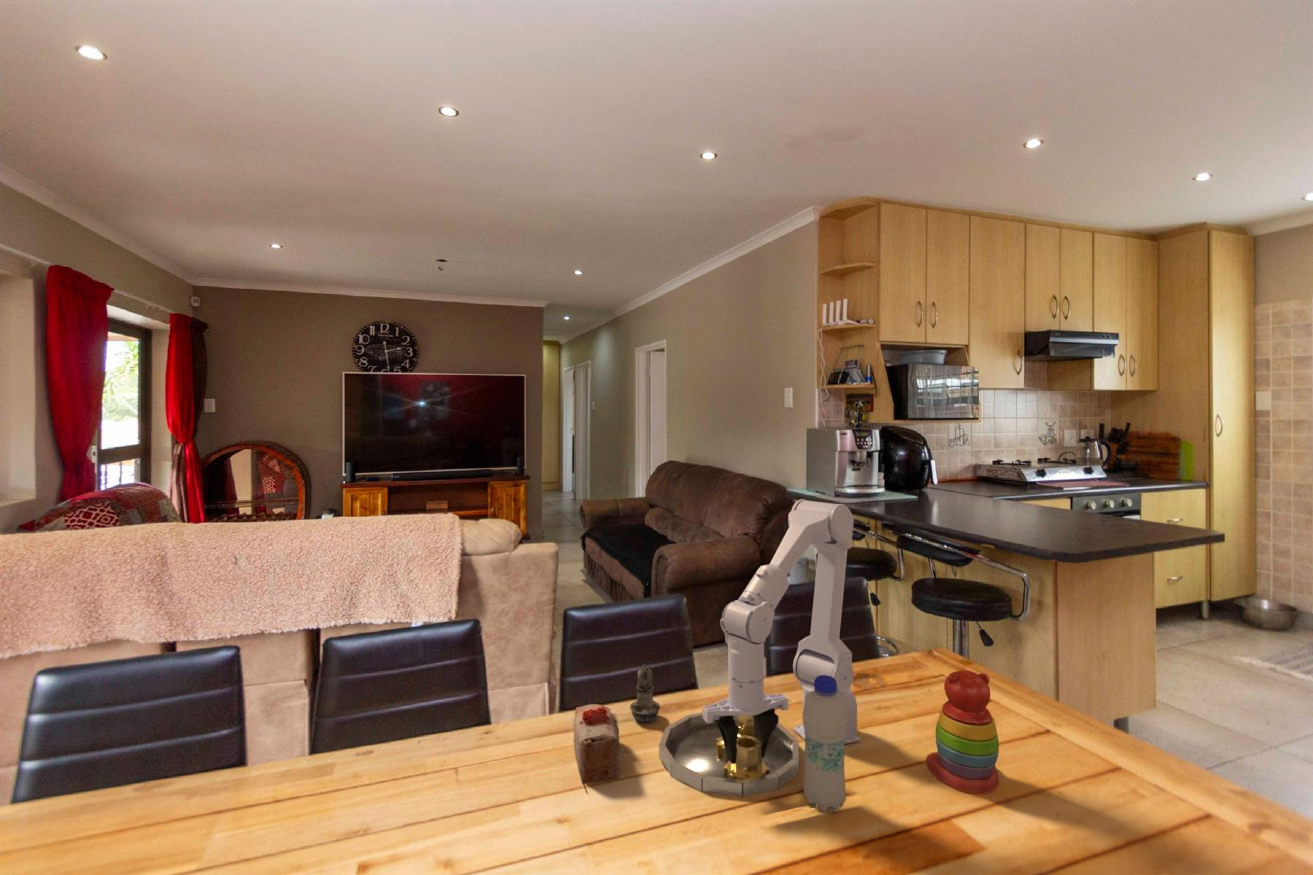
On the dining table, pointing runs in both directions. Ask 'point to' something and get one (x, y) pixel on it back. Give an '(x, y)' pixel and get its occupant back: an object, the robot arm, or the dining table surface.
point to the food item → (596, 743)
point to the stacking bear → (966, 736)
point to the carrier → (724, 756)
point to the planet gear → (747, 760)
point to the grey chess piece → (644, 698)
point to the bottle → (824, 745)
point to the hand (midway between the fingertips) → (745, 757)
